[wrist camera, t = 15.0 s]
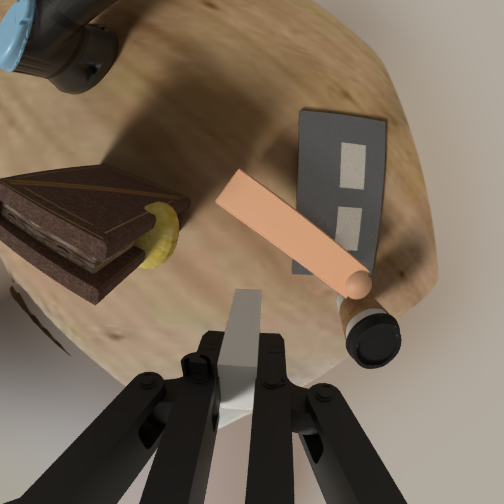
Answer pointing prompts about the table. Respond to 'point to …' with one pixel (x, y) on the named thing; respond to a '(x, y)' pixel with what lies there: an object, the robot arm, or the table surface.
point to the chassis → (341, 180)
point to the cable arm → (294, 235)
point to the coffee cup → (368, 331)
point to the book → (89, 225)
